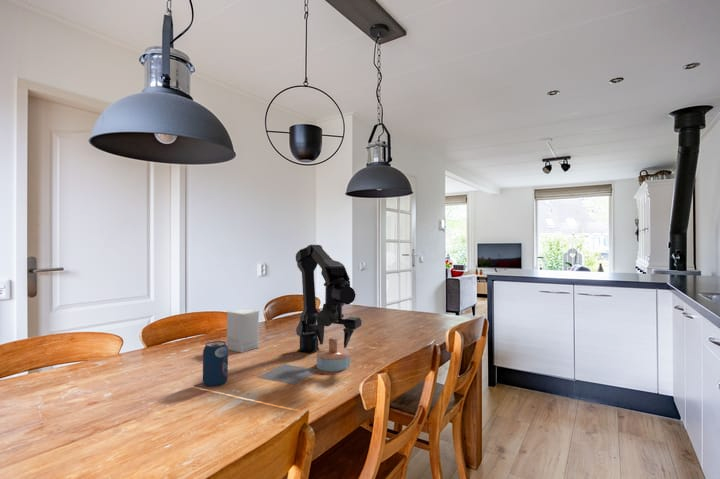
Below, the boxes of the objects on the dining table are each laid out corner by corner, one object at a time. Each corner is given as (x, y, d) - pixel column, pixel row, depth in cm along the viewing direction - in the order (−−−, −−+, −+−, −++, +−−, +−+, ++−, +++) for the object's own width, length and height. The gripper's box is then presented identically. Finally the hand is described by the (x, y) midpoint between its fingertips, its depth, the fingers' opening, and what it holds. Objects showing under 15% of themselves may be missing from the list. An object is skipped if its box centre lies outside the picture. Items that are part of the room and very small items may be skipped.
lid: (310, 357, 124) (310, 340, 124) (326, 348, 134) (326, 333, 134) (340, 361, 119) (340, 344, 120) (354, 352, 129) (354, 336, 130)
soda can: (229, 385, 109) (230, 344, 109) (204, 390, 105) (204, 347, 106) (225, 378, 115) (226, 339, 115) (201, 382, 111) (201, 342, 112)
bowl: (310, 369, 124) (310, 357, 124) (326, 360, 134) (327, 348, 134) (340, 374, 119) (340, 361, 119) (354, 364, 129) (354, 352, 129)
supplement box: (259, 347, 149) (259, 310, 150) (241, 353, 142) (241, 313, 142) (244, 344, 154) (244, 308, 154) (225, 349, 147) (226, 311, 147)
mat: (256, 378, 115) (256, 377, 115) (283, 365, 128) (283, 364, 128) (294, 385, 109) (294, 384, 109) (319, 371, 122) (319, 369, 122)
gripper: (297, 301, 123) (296, 348, 123) (347, 305, 116) (347, 355, 116) (314, 297, 134) (314, 340, 133) (362, 301, 126) (361, 347, 126)
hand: (333, 346), depth 127 cm, fingers open, 9 cm apart
